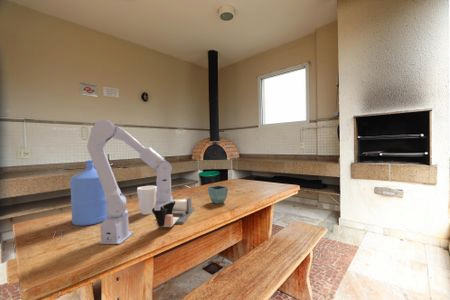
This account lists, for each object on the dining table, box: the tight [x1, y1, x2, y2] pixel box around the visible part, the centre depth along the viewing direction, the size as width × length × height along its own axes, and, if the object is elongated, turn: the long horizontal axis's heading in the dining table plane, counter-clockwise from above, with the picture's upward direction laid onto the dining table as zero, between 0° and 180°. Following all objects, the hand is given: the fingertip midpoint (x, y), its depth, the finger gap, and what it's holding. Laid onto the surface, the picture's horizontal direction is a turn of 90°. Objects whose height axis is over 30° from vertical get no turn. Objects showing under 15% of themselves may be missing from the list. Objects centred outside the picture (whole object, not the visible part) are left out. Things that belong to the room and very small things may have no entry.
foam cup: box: [136, 185, 157, 216], centre depth 106 cm, size 10×9×13 cm
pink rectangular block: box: [156, 214, 179, 228], centre depth 89 cm, size 10×6×4 cm, turn 174°
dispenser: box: [172, 196, 195, 225], centre depth 101 cm, size 20×12×8 cm, turn 174°
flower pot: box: [207, 185, 229, 205], centre depth 122 cm, size 9×9×9 cm
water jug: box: [69, 160, 107, 227], centre depth 97 cm, size 16×16×28 cm
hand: (164, 222), depth 85 cm, fingers open, 7 cm apart
